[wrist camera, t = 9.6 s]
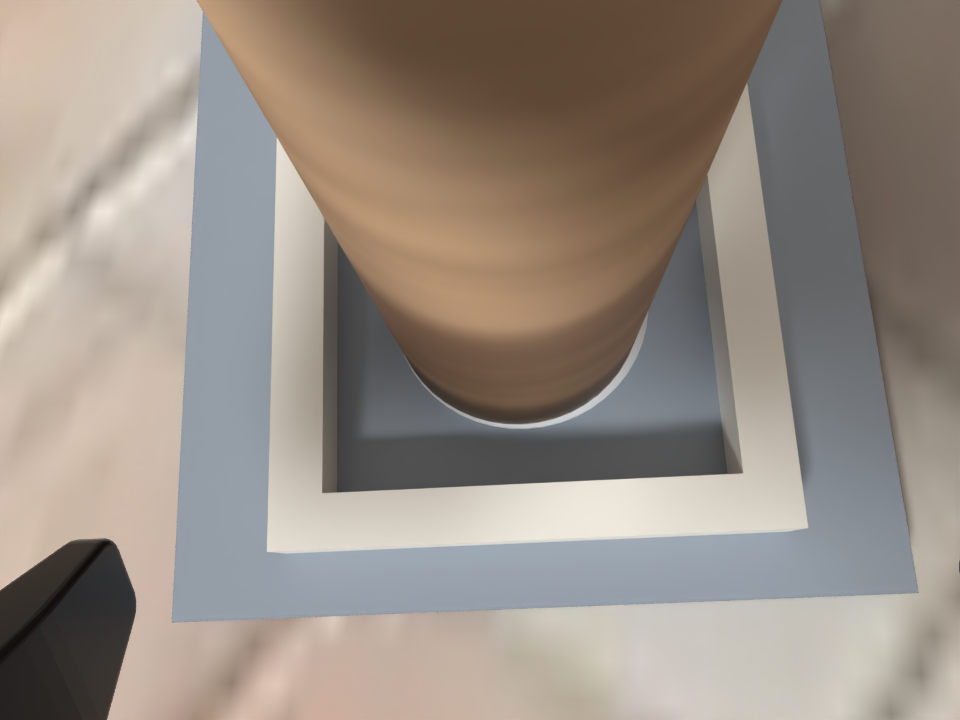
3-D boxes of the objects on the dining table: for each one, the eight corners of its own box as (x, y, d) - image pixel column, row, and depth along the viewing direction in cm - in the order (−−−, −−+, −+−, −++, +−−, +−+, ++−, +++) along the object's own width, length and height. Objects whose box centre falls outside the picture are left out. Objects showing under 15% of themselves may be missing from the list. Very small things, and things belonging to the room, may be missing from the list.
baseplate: (891, 592, 16) (950, 594, 14) (196, 619, 17) (143, 626, 15) (773, -149, 21) (803, -239, 19) (228, -103, 22) (191, -185, 19)
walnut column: (650, 418, 16) (1041, -107, 4) (396, 430, 17) (-32, -23, 4) (628, 184, 18) (868, -794, 5) (393, 199, 18) (60, -698, 5)
